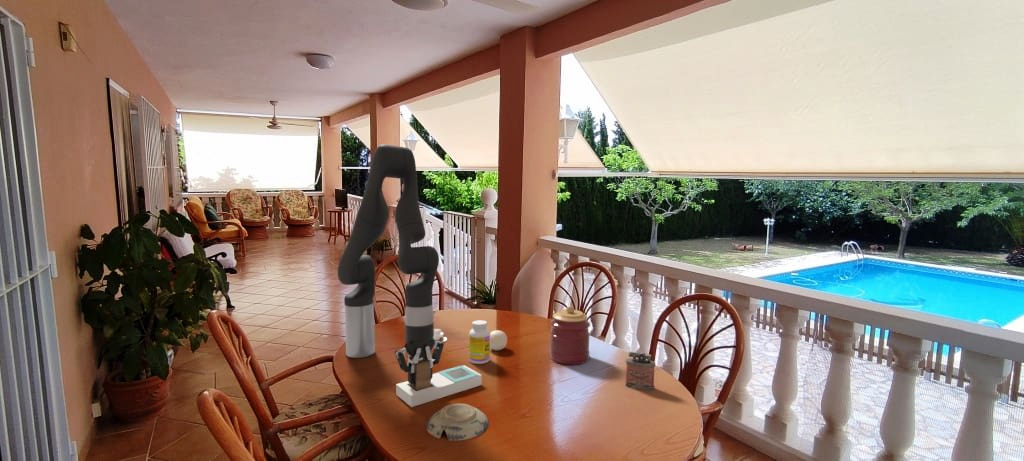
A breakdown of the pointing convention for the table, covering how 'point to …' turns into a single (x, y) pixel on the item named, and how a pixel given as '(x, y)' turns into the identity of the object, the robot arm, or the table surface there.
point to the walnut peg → (422, 375)
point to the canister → (569, 337)
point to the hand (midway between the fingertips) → (420, 382)
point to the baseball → (497, 340)
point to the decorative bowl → (458, 422)
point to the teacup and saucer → (439, 335)
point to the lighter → (640, 371)
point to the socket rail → (440, 385)
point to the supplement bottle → (479, 343)
